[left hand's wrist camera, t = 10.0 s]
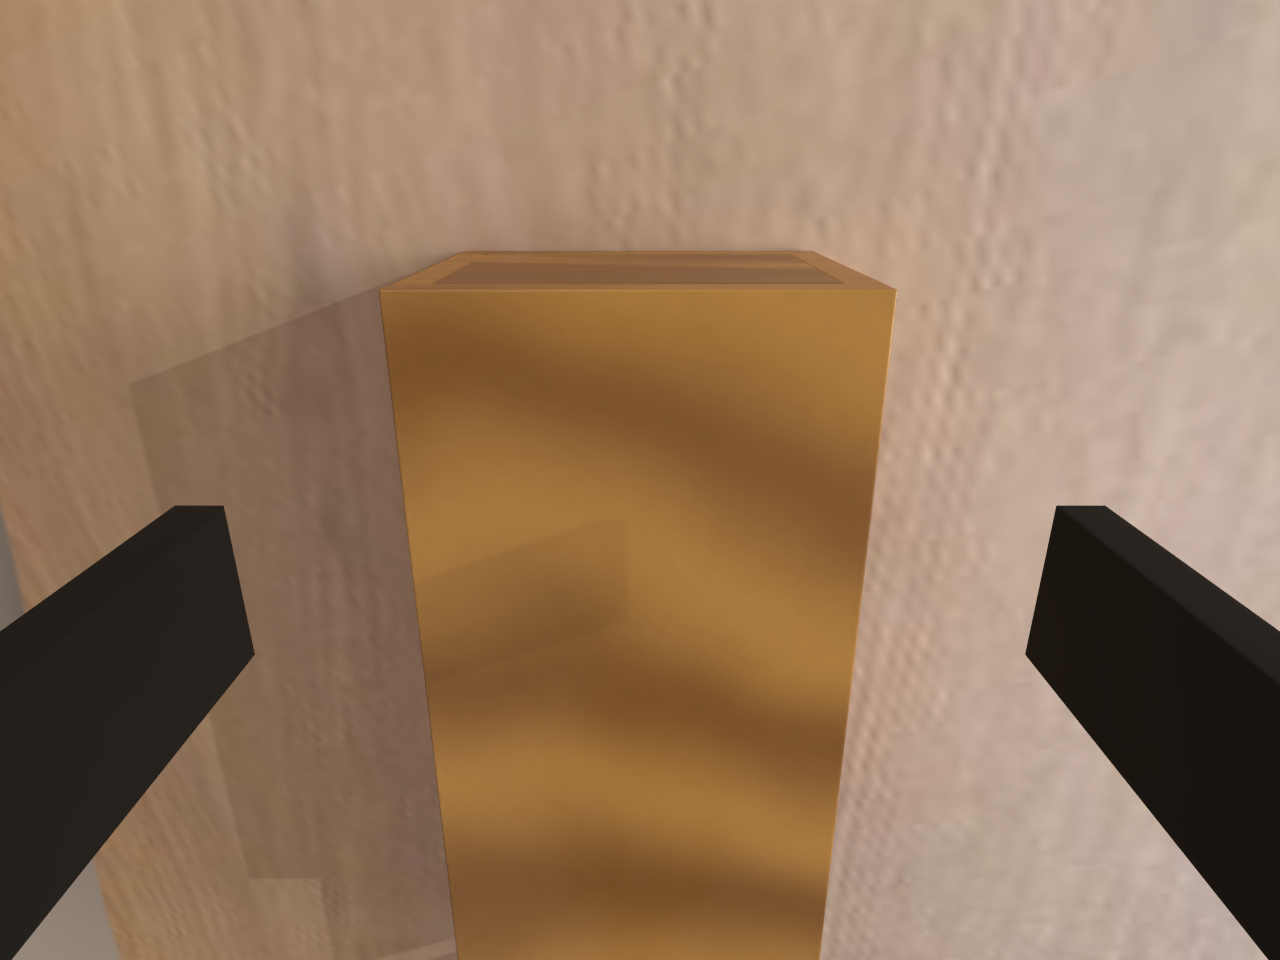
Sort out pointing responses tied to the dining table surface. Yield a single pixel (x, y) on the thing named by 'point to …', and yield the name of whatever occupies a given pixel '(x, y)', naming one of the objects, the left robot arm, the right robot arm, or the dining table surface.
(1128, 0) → the dining table surface
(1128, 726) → the left robot arm
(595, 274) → the cabinet
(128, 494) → the dining table surface
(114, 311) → the dining table surface
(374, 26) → the dining table surface
